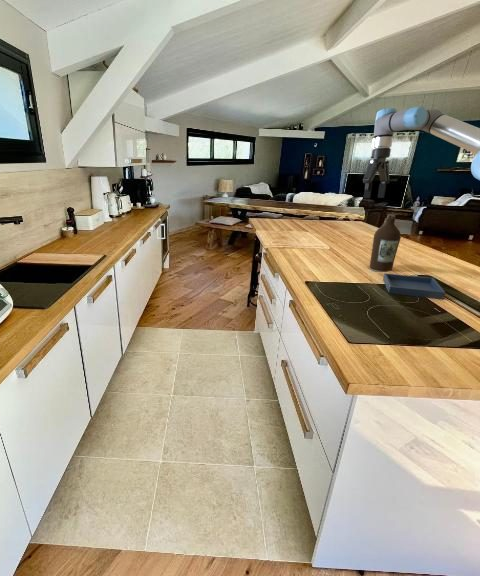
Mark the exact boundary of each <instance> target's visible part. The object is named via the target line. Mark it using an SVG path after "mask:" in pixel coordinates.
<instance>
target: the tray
mask: <svg viewBox="0 0 480 576" xmlns="http://www.w3.org/2000/svg"><path fill="white" fill-rule="evenodd" d="M382 280H383V283H384V286H385V288H386V291H387V292H388V293H387V294H391V295H399V296H400V295H401V296H409V297H416V298H417V297H418V298H427V299H435V300H444V299H445V296H446V291H445V290H444V289H443V287H442V286H441V285H440V284H439V282H437V280H436V279H435V278H434V277H429V276H419V275H418V276H417V275H406V274H396V273H395V274H394V273H385V272H384V273H383V278H382Z"/></svg>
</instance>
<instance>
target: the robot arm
mask: <svg viewBox="0 0 480 576" xmlns="http://www.w3.org/2000/svg"><path fill="white" fill-rule="evenodd" d="M397 110H398V109H397V108H396V107H395V108H394V107H388V108H384V109H380V110H379V111H377V112H376V115H375V120H374V129H373V138H372V142H371V144H372V145H371V148H372V149H371V151H370V159H368V160H369V161H368V165H367V168H366V171H365V173H364V176H363V178H362V183H363V184H364V190H363V199H371V196H372V188H373V180H374V178H375V176H376V174H377V173H378V176H379V182H380V183H379V185H378V193H377V199H384V198H385V196H386V189H387V184H390V167H389V165H390V161H389V160H386V159H388V158H390V156H391V152H392V148H391V147H392V145H393V138H394V133H396V132H401V131H407V130H408V131H409V130H410V131H423V132H425V133H428V134H431V135H433V136H435V137H437V138H440V139H442V140H444V141H446V142H448V143H450V144H452V145H455V146H456V147H459V148H461V149H464V150H466V151H468V152H470V153H472V154H474V155H475V156H474V157H473V160H472V162H471V165H470V171H471V174H472V176H473V178H475V180H476V179H477V180H478V181H480V127H477V126H475V125H472V124H469V123H468V122H464V121H462V120H460V119H457V118H455V117H452V116H449V115H447V114H445V112H443V111H442V110H439V109H427V108H425V107H424V106H421V105H420V106H413V107H411V108H407V109H403V110H400V111H397Z"/></svg>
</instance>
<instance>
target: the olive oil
mask: <svg viewBox="0 0 480 576" xmlns="http://www.w3.org/2000/svg"><path fill="white" fill-rule="evenodd" d="M395 221H396V214H387V216H386V220H385V223H384V224H383V225H381V226H380V227H379V228H377V229H376V230H375V232H374V234H373V240H372V246H371V247H372V248H371V254H370V259H369V268H370V269H372V270H374V271H381V272H389V271H392V270H393V266H394V263H395V259H396V256H397V253H398V248H399V246H400V242H401V238H402V236H401V231H400V230H399V228H398V227H397V225H395Z"/></svg>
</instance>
